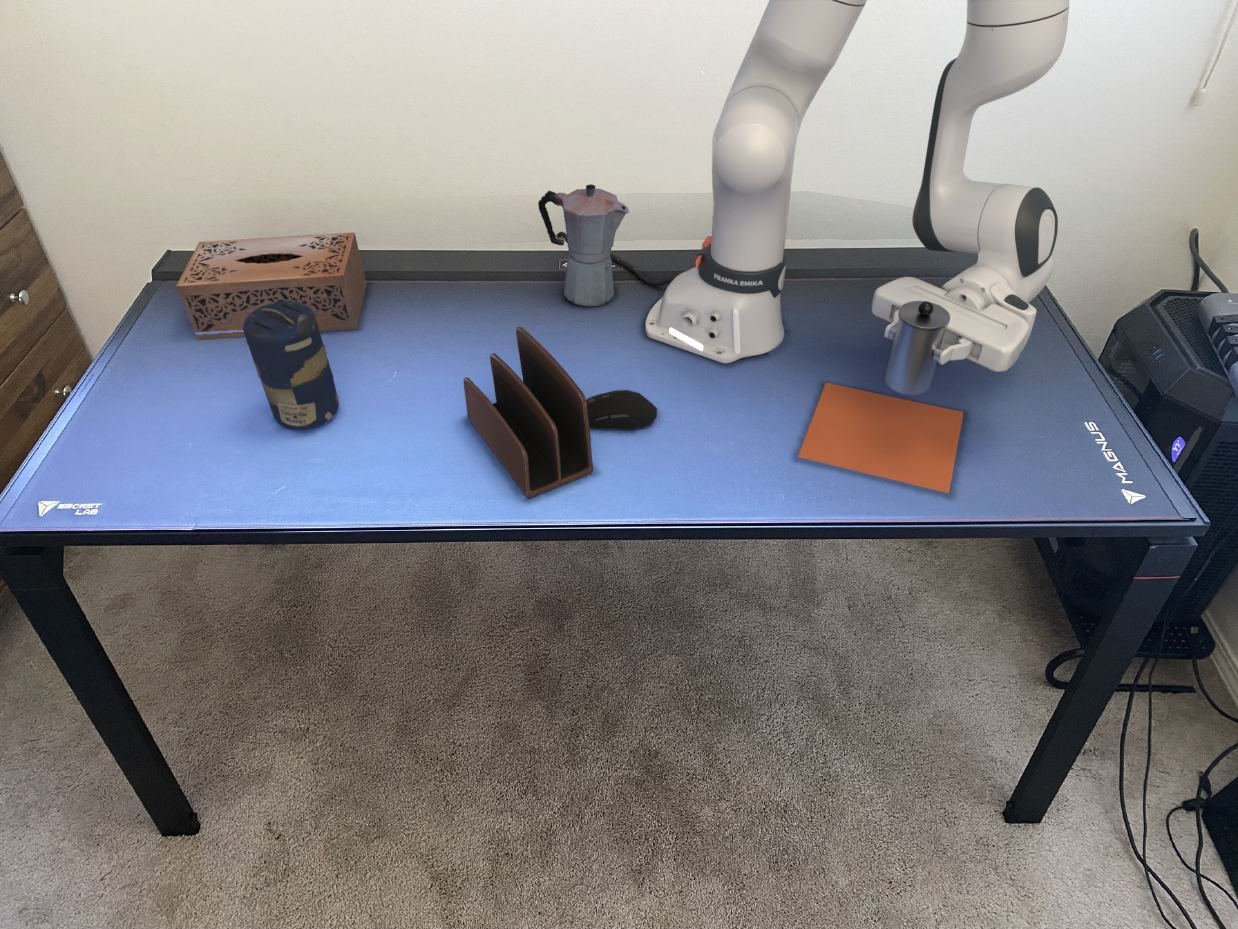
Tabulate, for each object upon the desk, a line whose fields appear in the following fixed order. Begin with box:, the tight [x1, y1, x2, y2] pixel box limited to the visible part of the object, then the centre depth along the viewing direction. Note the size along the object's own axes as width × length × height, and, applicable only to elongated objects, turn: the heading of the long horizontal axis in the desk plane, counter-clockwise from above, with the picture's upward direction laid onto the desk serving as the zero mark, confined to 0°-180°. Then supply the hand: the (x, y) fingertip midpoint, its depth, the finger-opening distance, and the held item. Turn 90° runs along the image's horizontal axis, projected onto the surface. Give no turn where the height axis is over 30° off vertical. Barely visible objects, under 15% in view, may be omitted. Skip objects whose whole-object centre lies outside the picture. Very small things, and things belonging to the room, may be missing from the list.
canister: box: [243, 301, 340, 431], centre depth 125 cm, size 10×10×18 cm
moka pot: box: [537, 183, 630, 307], centre depth 148 cm, size 10×15×20 cm, turn 78°
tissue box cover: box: [175, 232, 368, 341], centre depth 149 cm, size 26×14×10 cm, turn 96°
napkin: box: [797, 382, 964, 494], centre depth 125 cm, size 20×18×1 cm
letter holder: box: [463, 326, 594, 499], centre depth 120 cm, size 10×20×14 cm, turn 31°
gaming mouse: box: [586, 389, 658, 431], centre depth 128 cm, size 6×15×4 cm, turn 88°
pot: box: [884, 301, 950, 396], centre depth 114 cm, size 6×6×12 cm
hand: (913, 346), depth 114 cm, fingers closed on pot, 6 cm apart
